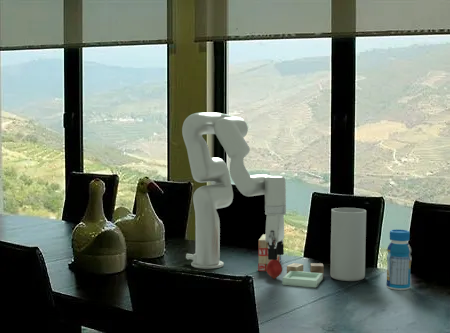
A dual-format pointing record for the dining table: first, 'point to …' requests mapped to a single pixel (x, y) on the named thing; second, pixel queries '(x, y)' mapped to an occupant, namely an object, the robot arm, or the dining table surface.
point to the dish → (302, 279)
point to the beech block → (295, 267)
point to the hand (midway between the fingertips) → (276, 257)
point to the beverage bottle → (399, 260)
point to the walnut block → (317, 268)
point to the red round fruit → (274, 268)
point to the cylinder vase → (348, 244)
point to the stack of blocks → (264, 254)
